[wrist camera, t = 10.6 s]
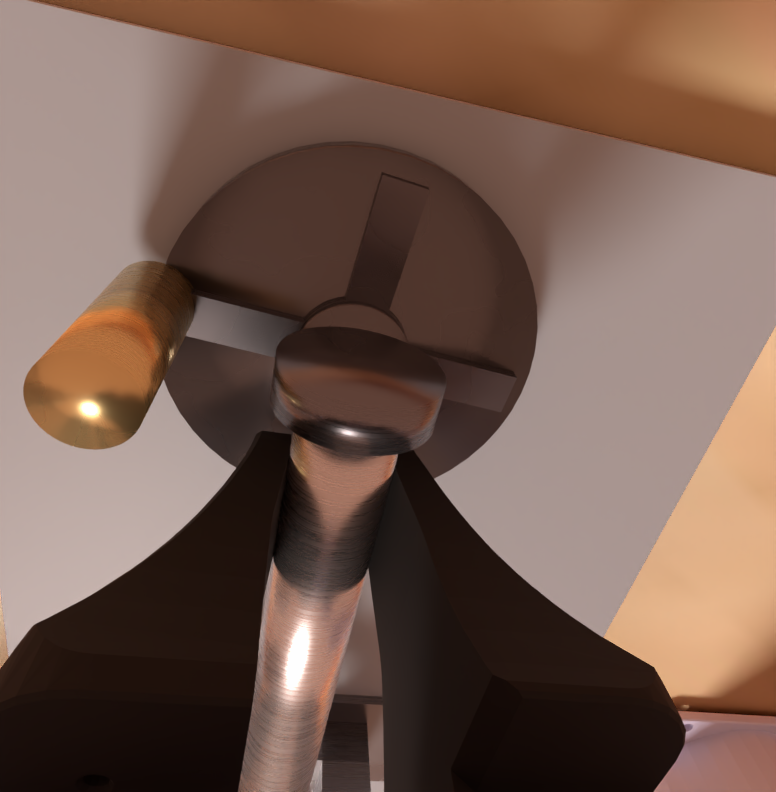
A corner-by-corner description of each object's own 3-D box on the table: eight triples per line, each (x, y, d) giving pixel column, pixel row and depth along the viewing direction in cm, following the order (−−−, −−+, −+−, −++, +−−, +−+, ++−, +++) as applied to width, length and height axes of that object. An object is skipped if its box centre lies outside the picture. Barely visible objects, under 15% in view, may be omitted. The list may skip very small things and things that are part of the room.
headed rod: (433, 340, 12) (461, 420, 10) (322, 752, 19) (320, 866, 16) (282, 315, 12) (268, 392, 9) (222, 748, 18) (204, 864, 16)
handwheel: (453, 504, 16) (495, 661, 12) (105, 434, 14) (14, 592, 10) (588, 211, 13) (714, 291, 9) (150, 65, 11) (36, 76, 7)
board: (810, 184, 14) (848, 194, 13) (503, 772, 25) (511, 803, 24) (-38, -17, 11) (-76, -25, 10) (39, 755, 22) (24, 790, 21)
